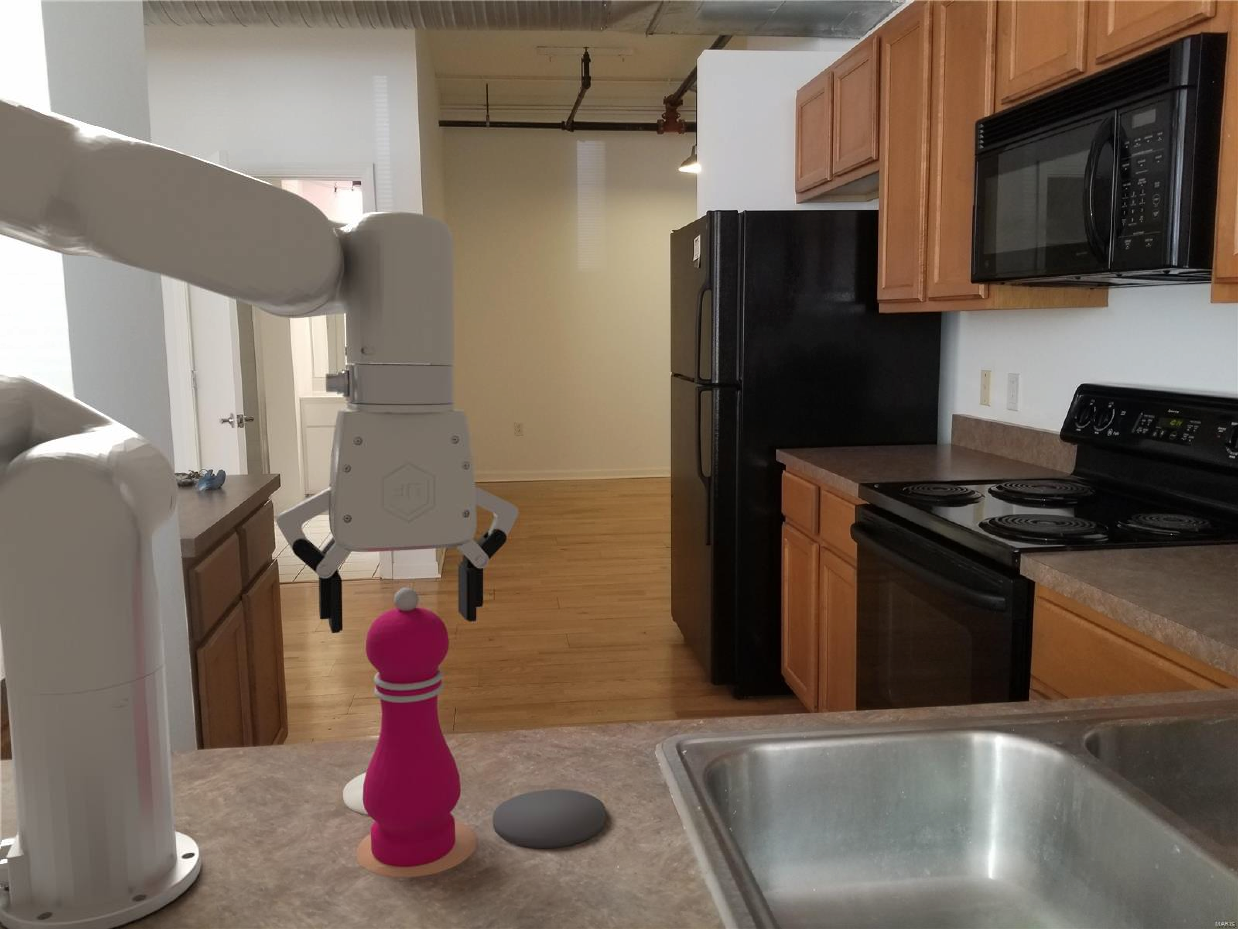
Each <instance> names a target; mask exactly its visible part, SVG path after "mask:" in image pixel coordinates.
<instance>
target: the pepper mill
mask: <svg viewBox="0 0 1238 929" xmlns="http://www.w3.org/2000/svg"><path fill="white" fill-rule="evenodd" d="M419 599H420V598H419V594H418V593H417V592H416V590H415V589H413V588H411V587H402V588H401V589H399V590H397V591H396V592H395V595H394V597H393V603H394V606H395V608H393V609H392V608H391V609H390V610H388V611H386V612H384V613H382V614H381V615H379V616H378V617H377V618H375V620H374V621H373V622H372V624H371V625H370V627H369V629H368V631H367V634H366V640H365V652H366V657H367V660H368V661H369V663H370V665H371V666H372V667H373V668H375V670H377V673H376V674H375V675H374V677H373V682H374V685H375V687H374V691H373V692H374V695H375V696H376V697H377V698H378V699H380V707H381V721H380V732H379V737H378V740H377V743H376V747H375V750H374V752H373V755H372V757H371V760H370V762H369V764H368V766H367V769H366V776H365V780H364V784H363V805H364V808H365V810H366V812H367V813H368V814H369V815H368V816H369V817H370V818H371V819H372V820H374V822H373V823H372V824H371V826H370V833H371V851H372V854H373V855H374V857H375V858H376V859H378V860H379V861H380V862H383V863H385V864H388V865H392V866H400V867H410V866H418V865H423V864H427V863H431V862H434V861H436V860H438V859H440V858H442V857H443V856H445V855H446V854H447V853H448V852H450V851H451V849H452V848H453V846H454V844H455V817H454V815H453V814H452V813H451V812H452V811H453V810H454V808H455V807H456V806H457V804H458V802H459V800H460V797H461V790H462V789H461V779H460V773H459V770H458V767H457V763H456V761H455V757H454V756H453V754H452V752H451V749H450V748H449V746H448V744H447V740H446V739H445V737H444V734H443V732H442V728H441V724H440V722H439V712H438V711H439V710H438V695H439V694H440V693H441V692H443V688H444V683H443V682H442V680H443V676H444V672H443V671H442V669H441V668H439V666H440V665H441V664H442V662H443V661H444V659H445V658H446V656H447V654H448V652H449V649H450V648H449V647H450V646H449V645H450V640H449V639H450V638H449V634H448V630H447V627H446V625H445V623H444V621H443V620H442V618H441V617H440V616H438V614H436V613H435V612H434V611H432V610H429V609H426V608H424V607H419V606H418V604H419V601H420V600H419Z"/></svg>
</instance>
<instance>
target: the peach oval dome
mask: <svg viewBox="0 0 1238 929" xmlns="http://www.w3.org/2000/svg"><path fill="white" fill-rule="evenodd" d="M358 844H359V845H358V846H357V849H356V854H355V855H356V858H357V861H358V863H359V864H360V865H361V867H363V868H365V869H366V870H368V871H370V872H372V873H373V874H377V875H380V876H384V877H392V878H416V877H424V876H429V875H433V874H438V873H440V872H444V871H446V870H449V869H451V868H454V867H455V866H458V865H460V864H461V863H463V862H464V861H466V860H467V859H468V858H470V856H471V855H473V853H474V852H475V850H476V848H477V846H478V835H477V833H476V832H475V831H474V829H473V828H472V827H470V826H469V825H468V824H466V823H463V822H461V821H458V820H455V844H454V846H453V848H452V849H451V851H450V852H448V853H447V854H446V855H445V856H443V857H442V858H440V859H438V860H436V861H434V862H431V863H427V864H423V865H418V866H410V867H400V866H392V865H388V864H385V863H383V862H380V861H379V860H378V859H376V858H375V857H374V855H373V854H372V851H371V832H370V833H369V834H368V835H366V836H365V837H364V838H363V839H362V840H361V841H360V843H358Z"/></svg>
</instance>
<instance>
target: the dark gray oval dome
mask: <svg viewBox="0 0 1238 929" xmlns="http://www.w3.org/2000/svg"><path fill="white" fill-rule="evenodd" d="M606 822H607V808H606V806H605V804H604V803H603V801H602V800H600V799H599V798H597V797H595V796H594V795H591V794H590V793H585V792H582V791H577V790H572V789H543V790H535V791H530V792H525V793H522V794H519V795H516V796H513V797H511V798H509V799H507V800H504V801H503V802H502V803H500V804H499V805H498V806H497V807H496V808H495V810H494V811H493V814H492V826H493V829H494V832H495V834H496V835H497V836H498V837H499V838H501V839H502V840H504V841H505V842H506V843H507V842H508V843H509V844H513V845H515V846H519V847H522V848H532V849H554V848H555V849H556V848H562V847H568V846H572V845H577V844H579V843H582V842H585V841H587V840H590V839H591V838H593V837H596V835H597V834H599V833H600V832H602V830H603V829H604V828H605V826H606Z"/></svg>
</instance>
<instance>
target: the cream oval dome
mask: <svg viewBox="0 0 1238 929" xmlns="http://www.w3.org/2000/svg"><path fill="white" fill-rule="evenodd" d="M366 772H367V771H366ZM366 772H364V773H362V774H361V773H360V774H359V775H357V776H355V777H354V778H352V779H351V780H350V781H349V782H348V783H347V784H346V785H345V786H344V787H343V791H342V799H343V801H342V802H343V804H345V806H346V807H347V808H349V809H350V810H351V811H353V812H355V813H359V814H363V815H366V816H369V814H368V813H367V812H366V810H365V808H364V805H363V784H364V780H365V776H366Z"/></svg>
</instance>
